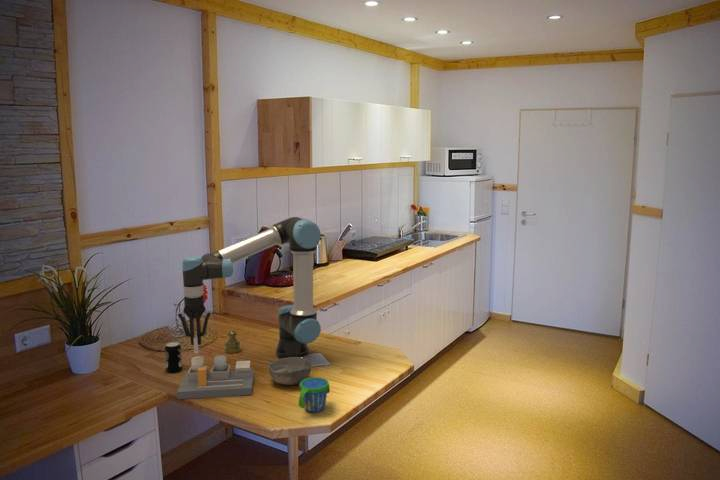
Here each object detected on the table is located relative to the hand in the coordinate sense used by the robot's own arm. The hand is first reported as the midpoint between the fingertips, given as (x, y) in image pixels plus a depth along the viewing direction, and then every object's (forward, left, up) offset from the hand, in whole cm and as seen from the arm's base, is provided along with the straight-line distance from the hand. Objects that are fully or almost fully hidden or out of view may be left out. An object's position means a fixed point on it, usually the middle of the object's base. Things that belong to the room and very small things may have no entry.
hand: (196, 352), depth 231 cm
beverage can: (+13, -17, -14) cm, 26 cm away
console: (-8, +4, -14) cm, 17 cm away
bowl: (-37, +2, -14) cm, 40 cm away
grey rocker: (-18, 0, -7) cm, 19 cm away
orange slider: (-3, +9, -11) cm, 14 cm away
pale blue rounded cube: (-9, 0, -8) cm, 12 cm away
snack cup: (-46, +28, -14) cm, 56 cm away
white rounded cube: (0, 0, -8) cm, 8 cm away
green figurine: (-10, -38, -14) cm, 42 cm away
